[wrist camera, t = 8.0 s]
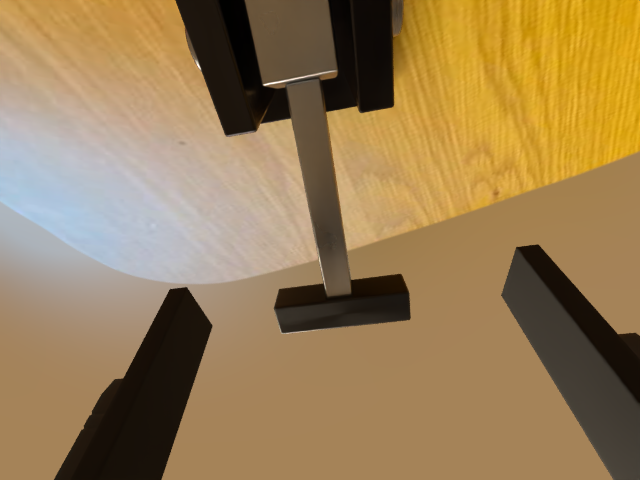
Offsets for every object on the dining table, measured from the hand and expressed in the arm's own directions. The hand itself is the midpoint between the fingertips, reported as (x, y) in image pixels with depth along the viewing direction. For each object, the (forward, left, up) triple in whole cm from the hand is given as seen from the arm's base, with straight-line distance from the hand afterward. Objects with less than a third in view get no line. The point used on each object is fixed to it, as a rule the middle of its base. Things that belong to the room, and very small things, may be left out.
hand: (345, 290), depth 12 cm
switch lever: (0, -4, -2) cm, 5 cm away
